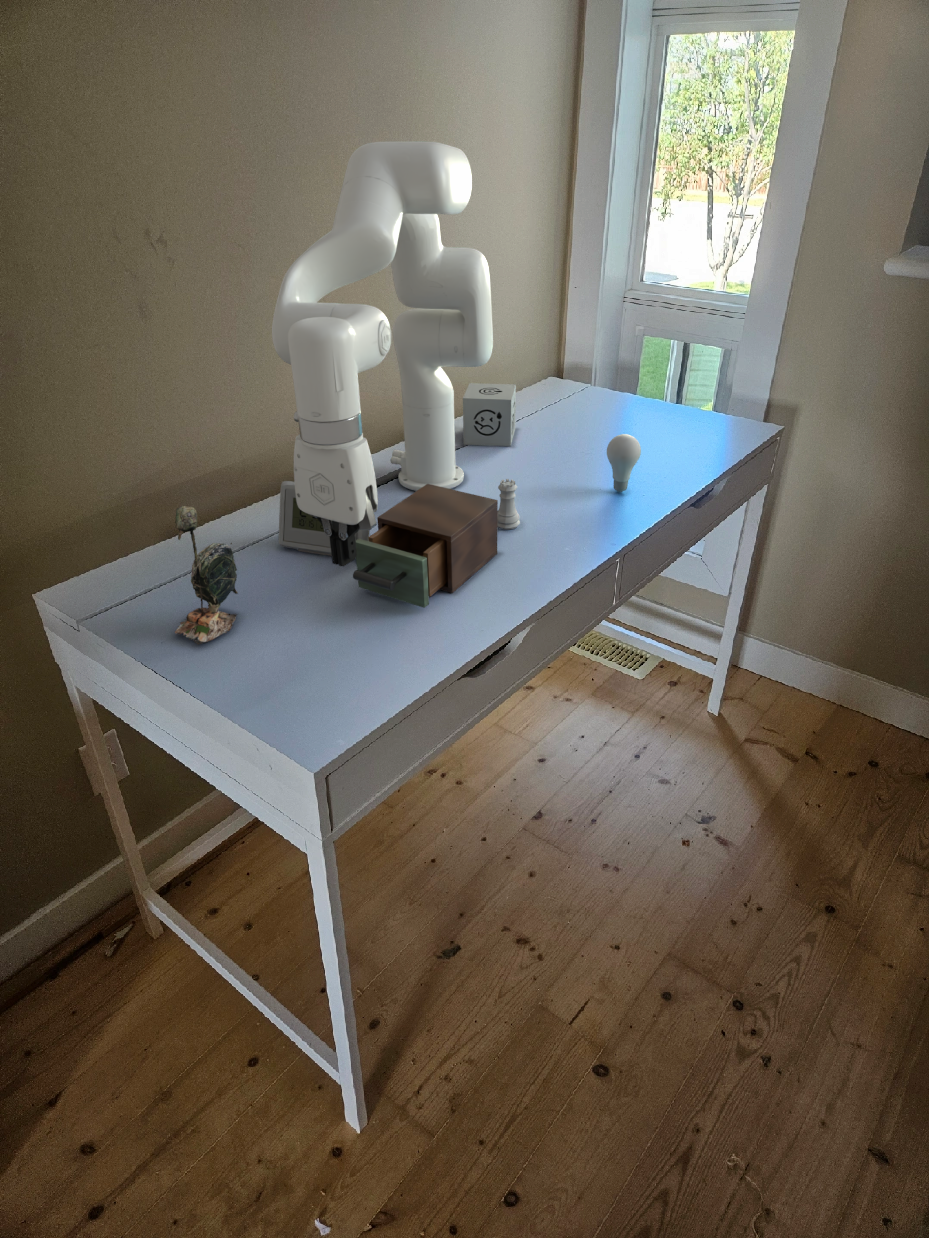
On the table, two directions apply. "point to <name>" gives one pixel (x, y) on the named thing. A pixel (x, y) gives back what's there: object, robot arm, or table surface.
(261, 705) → the table surface
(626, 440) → the lightbulb
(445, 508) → the cabinet
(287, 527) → the digital clock
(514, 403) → the icon cube
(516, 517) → the rook chess piece
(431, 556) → the drawer
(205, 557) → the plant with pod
